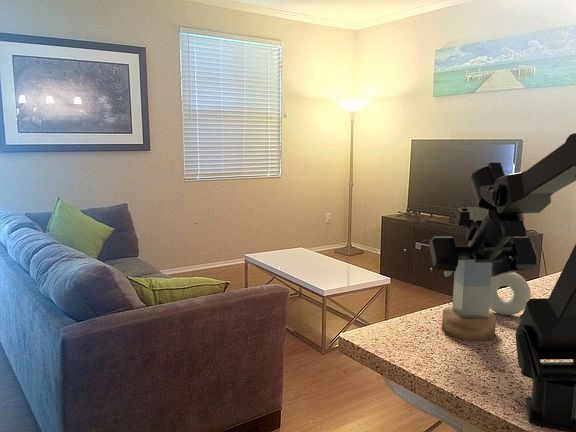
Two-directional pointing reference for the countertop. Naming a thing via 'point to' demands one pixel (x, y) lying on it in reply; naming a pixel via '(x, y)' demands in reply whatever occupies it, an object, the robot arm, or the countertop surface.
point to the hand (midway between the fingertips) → (468, 274)
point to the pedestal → (468, 326)
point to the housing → (472, 289)
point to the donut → (519, 297)
